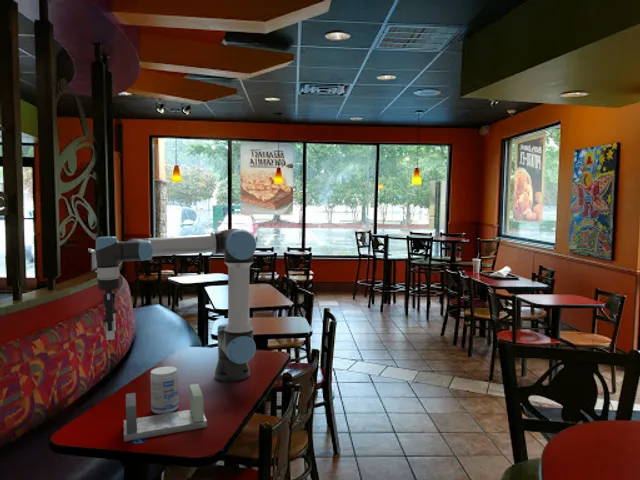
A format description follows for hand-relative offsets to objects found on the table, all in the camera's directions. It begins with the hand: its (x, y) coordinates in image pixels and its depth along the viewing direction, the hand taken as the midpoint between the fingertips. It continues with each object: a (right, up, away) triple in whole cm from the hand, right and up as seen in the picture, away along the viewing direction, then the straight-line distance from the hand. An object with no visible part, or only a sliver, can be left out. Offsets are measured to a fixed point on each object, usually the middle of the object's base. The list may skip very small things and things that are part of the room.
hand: (111, 335), depth 183 cm
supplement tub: (+21, -27, -3) cm, 34 cm away
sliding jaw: (+35, -25, -13) cm, 45 cm away
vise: (+25, -28, -17) cm, 41 cm away
